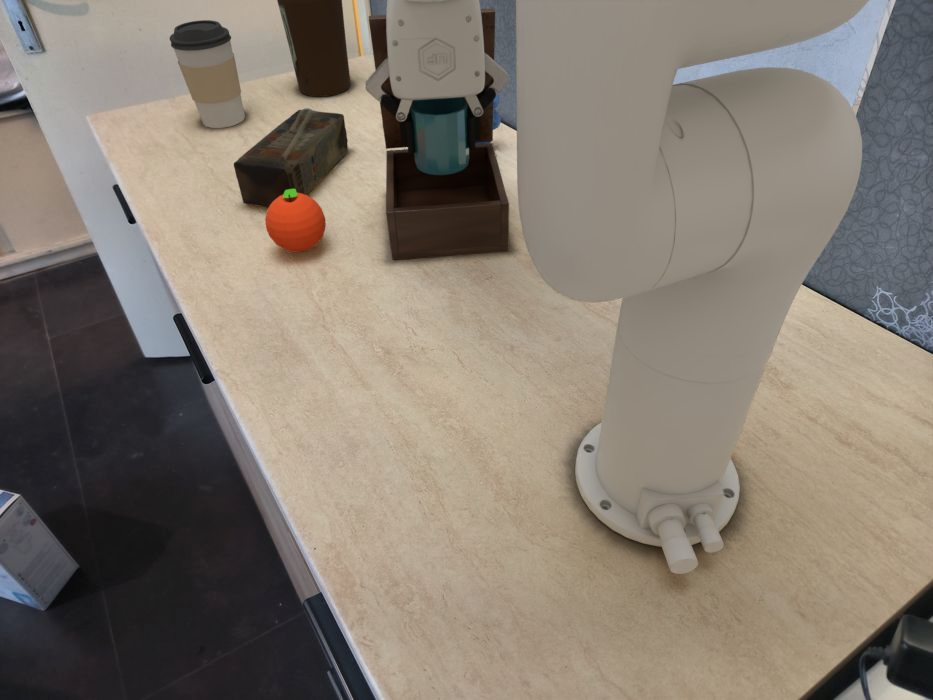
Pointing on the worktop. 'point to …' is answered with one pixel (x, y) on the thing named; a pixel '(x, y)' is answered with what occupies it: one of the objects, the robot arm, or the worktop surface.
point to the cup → (440, 135)
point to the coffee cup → (209, 71)
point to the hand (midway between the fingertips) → (441, 146)
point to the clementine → (295, 221)
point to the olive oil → (317, 45)
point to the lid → (390, 121)
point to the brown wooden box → (446, 207)
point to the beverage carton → (292, 156)
